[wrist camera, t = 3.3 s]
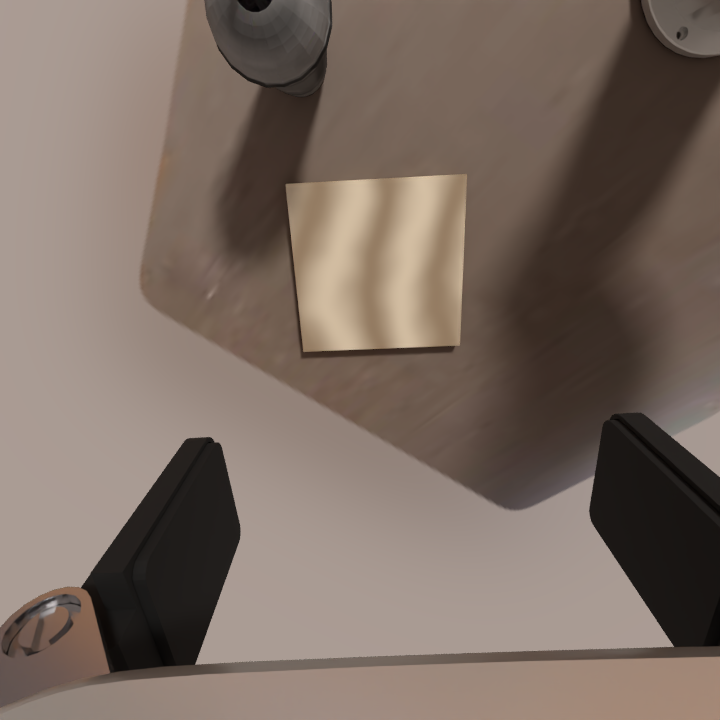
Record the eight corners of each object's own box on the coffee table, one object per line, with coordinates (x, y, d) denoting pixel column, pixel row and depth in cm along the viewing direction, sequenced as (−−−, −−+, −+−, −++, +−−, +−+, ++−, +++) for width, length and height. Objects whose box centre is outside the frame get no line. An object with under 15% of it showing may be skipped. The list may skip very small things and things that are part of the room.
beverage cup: (303, 135, 37) (240, 87, 19) (237, 66, 36) (97, -61, 17) (361, 64, 35) (354, -67, 17) (294, -13, 33) (205, -255, 15)
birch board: (464, 174, 38) (467, 174, 37) (457, 341, 44) (459, 345, 43) (287, 183, 39) (285, 183, 38) (304, 347, 45) (303, 351, 44)
